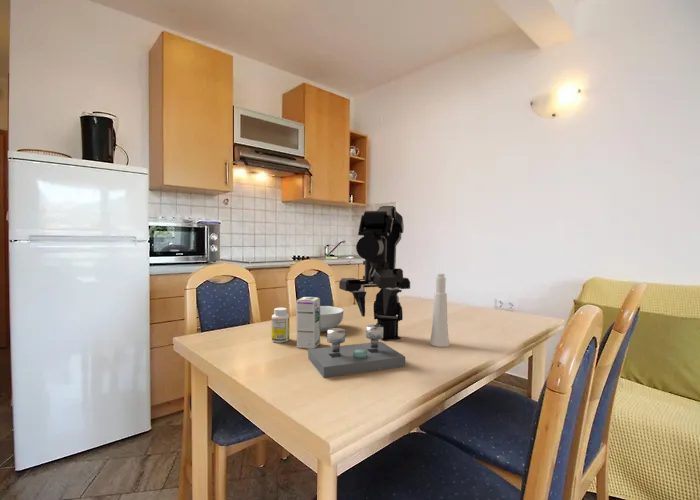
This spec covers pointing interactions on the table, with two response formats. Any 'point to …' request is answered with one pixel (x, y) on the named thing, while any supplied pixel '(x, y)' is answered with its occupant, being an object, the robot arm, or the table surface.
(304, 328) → the syrup box
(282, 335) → the supplement bottle
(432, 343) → the cosmetic bottle
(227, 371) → the table surface
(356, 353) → the teal flat disc
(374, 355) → the panel
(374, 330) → the knob
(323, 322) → the cereal bowl
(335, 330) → the knob
